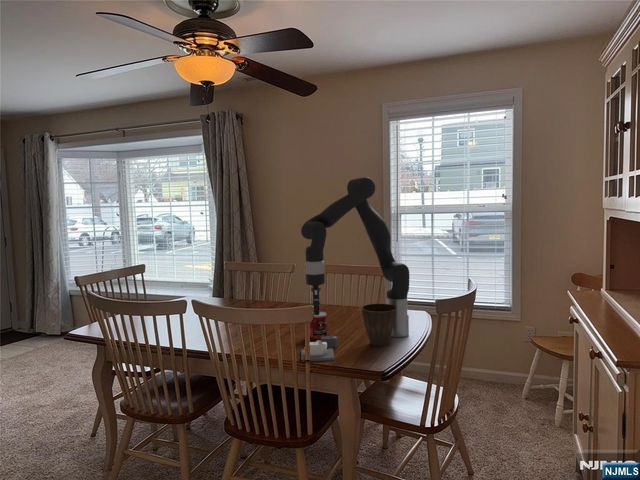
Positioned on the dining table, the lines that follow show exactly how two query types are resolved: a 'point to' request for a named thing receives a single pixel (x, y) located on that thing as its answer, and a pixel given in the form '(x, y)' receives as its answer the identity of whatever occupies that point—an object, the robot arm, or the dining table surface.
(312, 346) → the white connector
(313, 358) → the felt pad
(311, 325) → the canned food
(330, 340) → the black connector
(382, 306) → the plant pot
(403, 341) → the dining table surface
